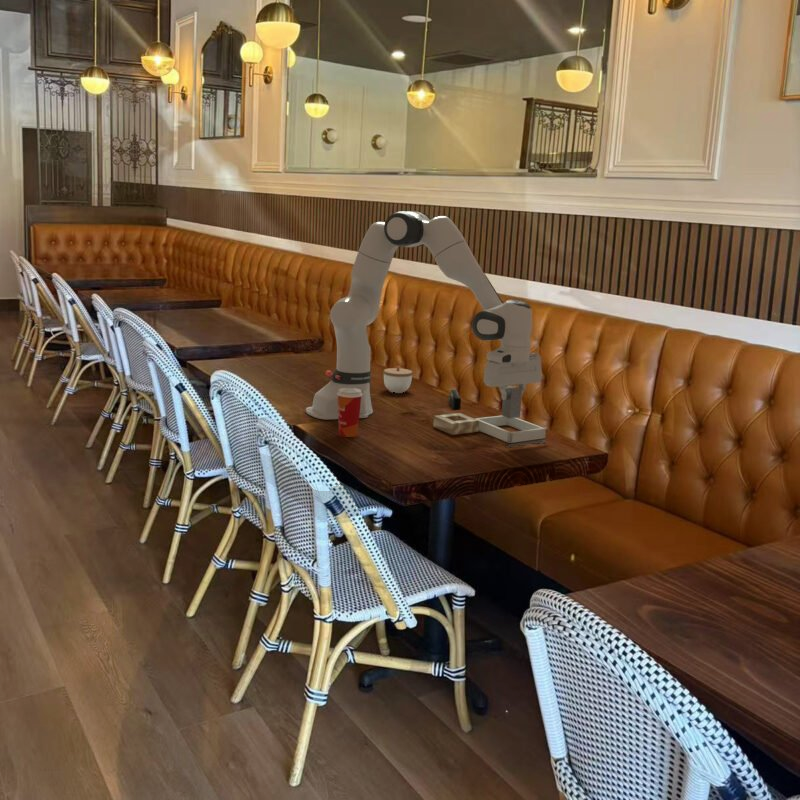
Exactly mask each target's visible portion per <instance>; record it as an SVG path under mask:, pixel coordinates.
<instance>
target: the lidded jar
mask: <svg viewBox="0 0 800 800" xmlns="http://www.w3.org/2000/svg"><path fill="white" fill-rule="evenodd" d="M412 379H413V370H411V369H407V368H400V366H399V365H398V366H396V367H393V368H392V367H391V368H389V367H388V368H385V369H383V382H384V386H385V388H386V389H387V391H388V392H390V393H393V392H395V393H394V394H402V393H403V392H404V393H405V392H406V391H407V390H408V389H409V388H410V386H411V383H412ZM404 393H403V394H404Z"/></svg>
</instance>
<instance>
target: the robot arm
mask: <svg viewBox="0 0 800 800" xmlns="http://www.w3.org/2000/svg"><path fill="white" fill-rule="evenodd" d="M422 246H425V247H426V248H428V250H429V252H430V253H431V255H432V257H433V259H434V261H435V263H436V265H437V267H438V268H439V270H440V271H441V272H442V274H443V275H444V276H445V277H446V278H448V279H451V280H454V281H456V282H459V283H461V284H463V285H465V286H466V287H467V288H469V290H470V291H471V292H472V293H473V295H474V297H475V299H477V301H478V303H479V304H480V306H481V308H482V309H483V310H481V311H479V312H477V313H476V314H475V315H474V316H473V318H472V321H471V329H472V333H473V334H474V336H476V338H477V339H479V340H481V341H485V342H491V341H492V342H493V341H495V340H496V341H497V340H499V341H500V342H501V343H500V347H498V348H496V349H493V350H492V351H489V352H488V353H487V354H486V360H487V362H486V363H485V366H484V367H485V368H484V373H483V383H484V384H485V386H487V387H490V388H497V387H498V389H499V391H500V393H501V400H502V401H503V400H508V399H509V394H507V393H506V390H505V389H507V387H508V386H515V385H516V386H517V385H518V387H519V388H522V396H521V399H522V398H523V395H524V392H525V391H526V388H527V384H537V383H540V382H541V380H542V377H543V373H542V372H543V371H542V367H543V366H542V356H541V354H539V353H538V352H531V334H532V331H533V310H532V307H531V305H530V304H529V303H527V302H525V301H522V300H519V299H518V300H516V299H507V300H506V301H505V302H504V301H503V300H502V298H501V297H500V295H499V294H498V292H497V290H496V289H495V287H494V286H493V284H492V283H491V281H490V279H489V278H488V277H487V274H486V273H485V272H484V271H483V269H482V268H481V266H480V264H479V262H478V260H476V258H475V256H474V253H473V252H472V251H471V249H470V247H469V245H468V243H467V241H466V239H465V237H464V236H463V234H462V233H461V231H460V230H459V228H458V226H457V225H456V224H455V223H454V221H452V219H451V218H449V217H448V216H445V215H439V216H435V217H432V218H431V216H429V215H428V214H427V213H423V212H420V211H415V210H406V211H403V210H402V211H400V210H399V211H396V212H394V213H392V214H391V215H388V217H387V219H386V220H385V221H376V222H373V223H372V224H371V225H370V226H369V228H368V229H367V231H366V233H365V235H364V237H363V239H362V241H361V244H360V247H359V249H358V252H357V254H356V258H355V261H354V263H353V266H352V268H351V271H350V277H351V280H350V281H351V282H350V288H349V291H348V295H347V296H345V297H342V298H339V299H338V300H337V301H336V302H335V304H334V305H333V306H332V307H331V309H330V312H329V319H330V321H331V323H332V324H331V325H333V328H334V334H335V335H334V336H335V339H336V368H335V370H334V371H331V370H330V369H329V370H328V369H327V370H326V372H325V375H326V377H328V378H331V380H330V381H329V382H328V383H327V384H326V385H324V386H323V387H322V388H321V389H319V390H318V391H316V392H315V394H314V397H313V401H312V406H309V407H305V413H306V414H307V415H309V416H311V417H313V418H315V419H320V420H327V421H328V420H338V395H337V393H338V390H339V389H341V388H352V389H353V388H356V389H360V390H361V393H362V396H361V405H360V416H359V419H366V418H368V417H369V416H370V415H372V414H373V413H374V410H373V405H372V401H371V390H370V386H371V380H372V371H371V354H372V353H371V345H370V343H369V338H368V332H367V331H368V330H367V328H368V327H367V326H370V325H371V324H372V323H374V321H375V320H376V319H377V317H378V316H379V313H380V305H381V304H380V303H381V300H382V299H381V298H382V293H383V289H384V288H383V286H384V285H385V282H386V281H385V280H386V278H387V275H388V272H389V270H390V266H391V264H392V261H393V258H394V254H395V253H396V251H397V250H398V248H399V247H403V248H415V247H422Z"/></svg>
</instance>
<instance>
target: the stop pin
mask: <svg viewBox="0 0 800 800" xmlns="http://www.w3.org/2000/svg"><path fill="white" fill-rule="evenodd" d="M519 387H520V386H515V385H508V386H507V389H505V390H506V393H507V394H509V399H508V400H503V399H502V404H501V405H502V406H501V415H502V416H504V417H507V418H521V408H522V407H521V406H522V398H521V396H522V388H519ZM522 397H523V396H522Z"/></svg>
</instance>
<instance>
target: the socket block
mask: <svg viewBox="0 0 800 800" xmlns="http://www.w3.org/2000/svg"><path fill="white" fill-rule="evenodd" d="M432 425H433V426H432V427H433V428H435V429H437V430H439V431H442V432H444V433H446V434H449V435H451V436H454V435H455V436H456V435H461V434H470V433H476V432H477V433H478V432H479V430H478V427H479V420H476V419H475V418H473V417H470V416H469V415H466V414H464V413H461V412H458V413H457V412H456V413H447V414H439V415H433V424H432Z"/></svg>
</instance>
